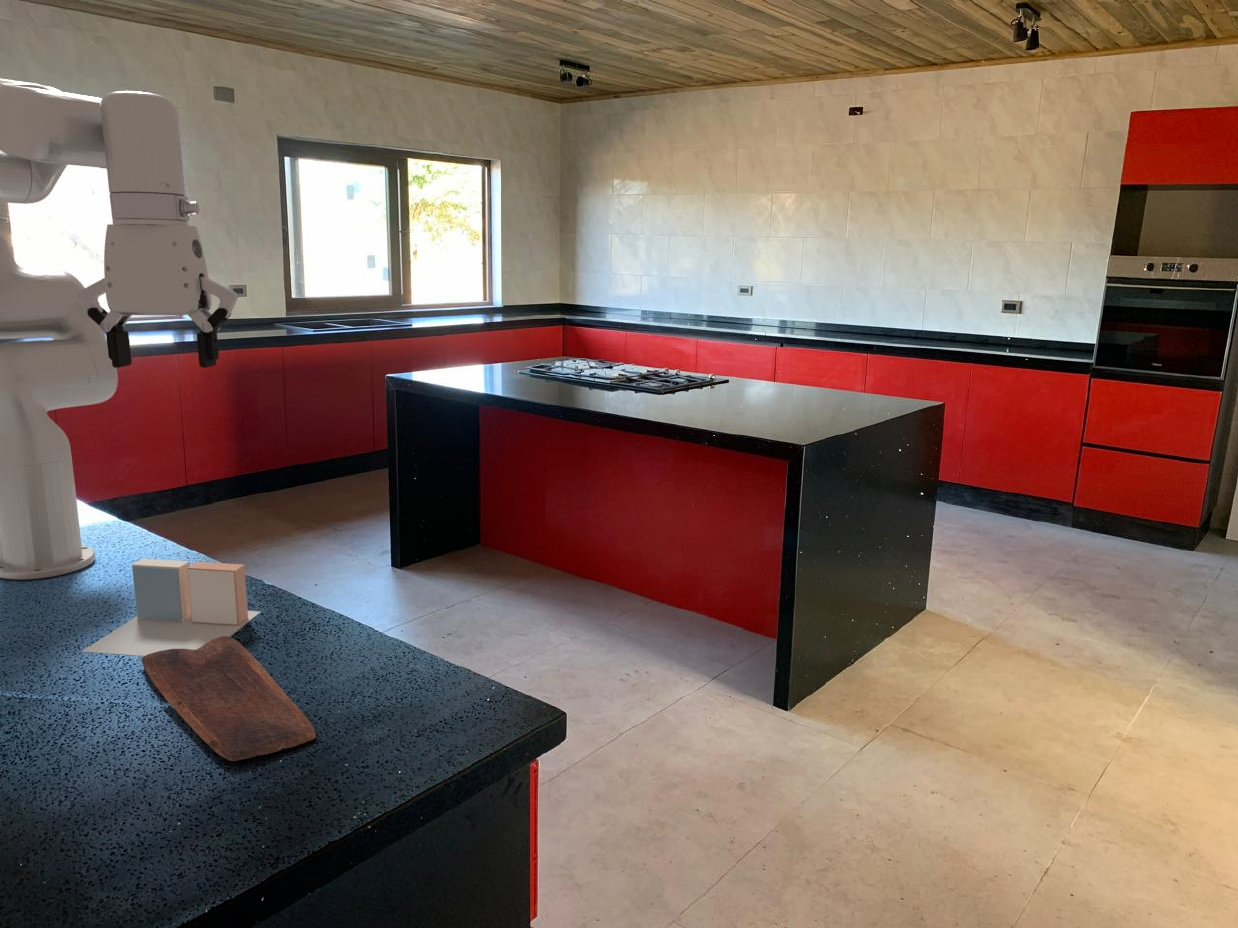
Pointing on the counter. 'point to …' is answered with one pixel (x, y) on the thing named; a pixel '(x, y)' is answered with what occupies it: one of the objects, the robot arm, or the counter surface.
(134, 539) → the counter surface
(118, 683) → the counter surface
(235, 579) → the salmon pink block
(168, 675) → the wooden tablet
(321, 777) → the counter surface
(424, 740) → the counter surface
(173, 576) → the cream block
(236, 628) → the grey mat
